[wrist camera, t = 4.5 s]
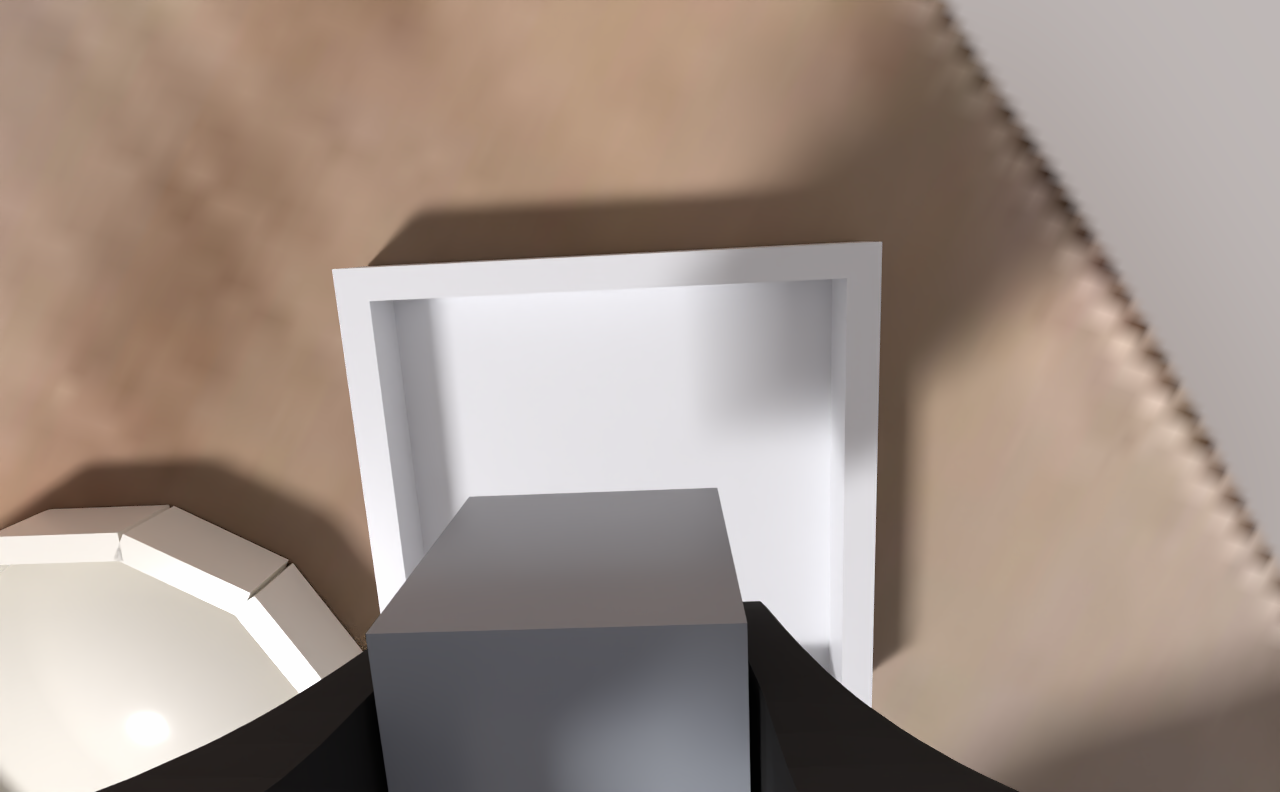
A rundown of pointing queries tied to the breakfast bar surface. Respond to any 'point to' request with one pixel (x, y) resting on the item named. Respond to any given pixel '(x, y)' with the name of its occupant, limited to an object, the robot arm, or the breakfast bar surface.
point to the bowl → (144, 642)
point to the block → (568, 650)
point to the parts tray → (636, 407)
